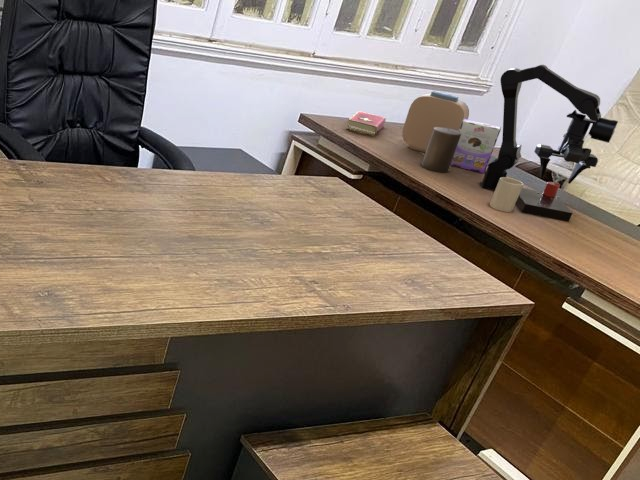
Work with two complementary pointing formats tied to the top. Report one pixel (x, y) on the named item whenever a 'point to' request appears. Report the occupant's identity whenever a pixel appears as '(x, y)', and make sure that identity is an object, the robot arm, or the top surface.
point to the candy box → (475, 145)
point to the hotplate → (542, 205)
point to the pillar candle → (441, 149)
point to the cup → (506, 194)
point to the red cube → (551, 189)
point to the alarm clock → (432, 118)
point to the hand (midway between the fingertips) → (554, 180)
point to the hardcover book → (366, 122)
